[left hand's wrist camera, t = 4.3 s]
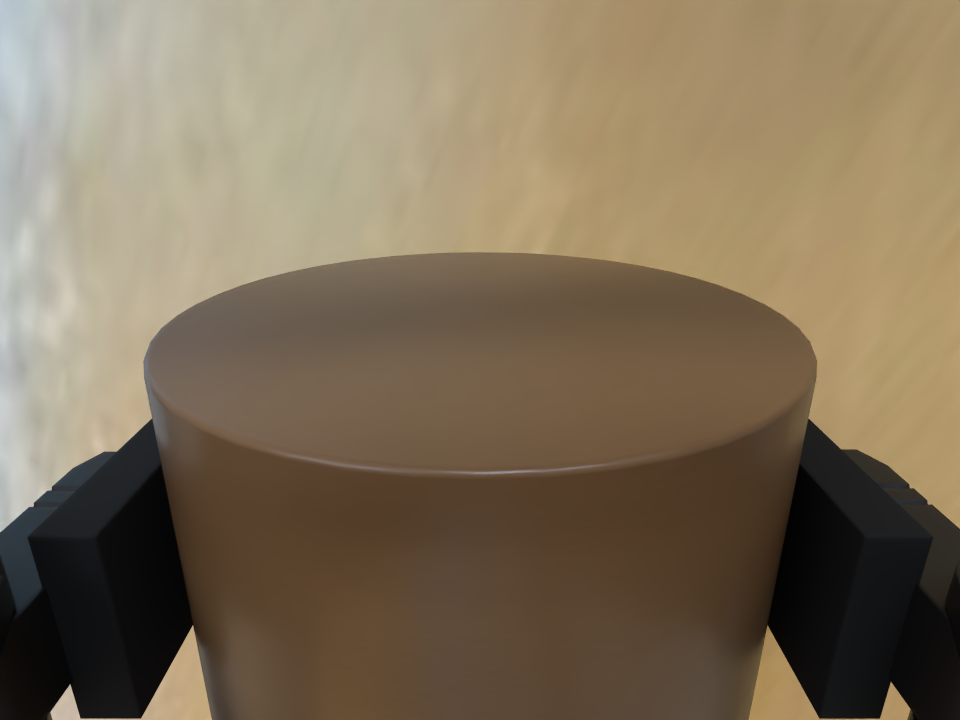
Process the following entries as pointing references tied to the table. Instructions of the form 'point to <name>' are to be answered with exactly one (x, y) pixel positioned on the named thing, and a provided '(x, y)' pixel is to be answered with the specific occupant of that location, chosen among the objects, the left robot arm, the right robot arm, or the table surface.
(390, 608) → the rod
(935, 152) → the table surface
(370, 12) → the table surface
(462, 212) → the table surface
